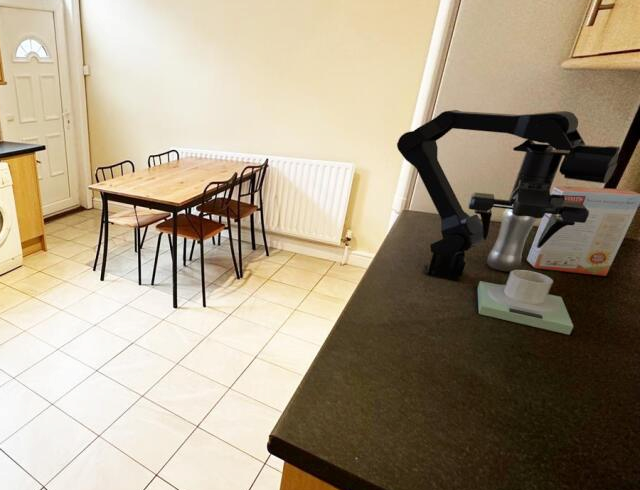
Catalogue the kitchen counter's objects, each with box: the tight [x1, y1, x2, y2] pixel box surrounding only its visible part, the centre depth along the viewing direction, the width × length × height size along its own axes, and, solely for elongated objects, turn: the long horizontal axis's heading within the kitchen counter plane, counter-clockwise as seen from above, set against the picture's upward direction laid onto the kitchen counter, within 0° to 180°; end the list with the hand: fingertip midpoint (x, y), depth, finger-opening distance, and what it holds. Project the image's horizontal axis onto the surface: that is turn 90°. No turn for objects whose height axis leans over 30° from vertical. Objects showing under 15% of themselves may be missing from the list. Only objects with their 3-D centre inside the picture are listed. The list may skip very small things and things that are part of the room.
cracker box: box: [526, 185, 640, 277], centre depth 103 cm, size 14×6×21 cm, turn 65°
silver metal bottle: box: [486, 209, 538, 273], centre depth 104 cm, size 6×7×20 cm
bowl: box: [504, 269, 554, 304], centre depth 88 cm, size 7×7×5 cm
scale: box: [477, 280, 574, 336], centre depth 89 cm, size 14×14×3 cm
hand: (510, 243), depth 93 cm, fingers open, 9 cm apart
